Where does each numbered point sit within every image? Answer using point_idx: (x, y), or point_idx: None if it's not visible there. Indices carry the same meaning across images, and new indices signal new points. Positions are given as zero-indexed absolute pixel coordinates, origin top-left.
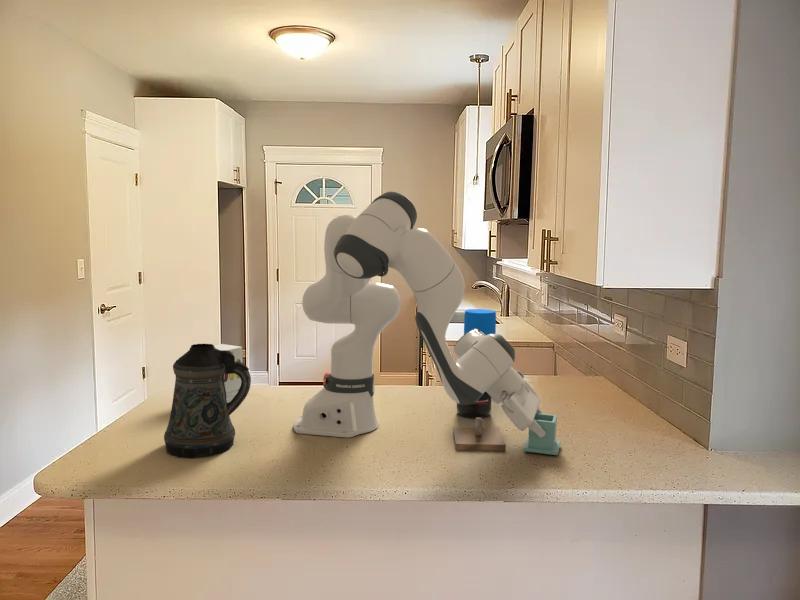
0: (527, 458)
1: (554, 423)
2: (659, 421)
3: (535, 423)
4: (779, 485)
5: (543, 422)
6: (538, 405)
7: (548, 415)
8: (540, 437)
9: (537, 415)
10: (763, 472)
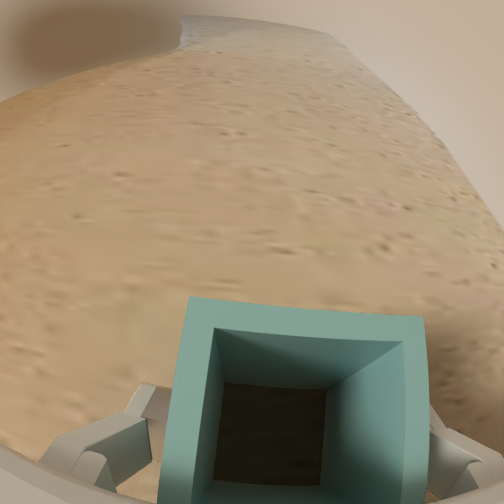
0: None
1: (421, 323)
2: (17, 98)
3: (501, 457)
4: (315, 34)
5: (425, 416)
6: (64, 477)
7: (206, 381)
8: None
9: (191, 491)
10: (270, 31)
